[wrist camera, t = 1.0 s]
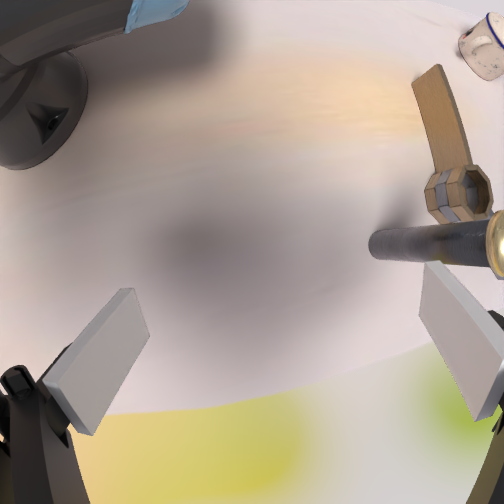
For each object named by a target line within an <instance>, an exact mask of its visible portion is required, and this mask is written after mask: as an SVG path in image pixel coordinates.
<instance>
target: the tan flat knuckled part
mask: <svg viewBox="0 0 504 504" xmlns="http://www.w3.org/2000/svg"><path fill="white" fill-rule="evenodd" d="M412 87H413V90H414V93H415V96H416V99H417V102H418V105H419V108H420V112H421V115H422V118H423V122H424V125H425V129H426V132H427V136H428V140H429V143H430V147H431V151H432V155H433V160H434V164H435V169H436V173H437V174H435V175H432V176H431V178H430V180H429V182H428V184H427V186H426V188H425V196H426V202H427V207H428V212H429V213H430V214H431V215H432V216H433V217H434V218H435V219H436V220H437V221H438V222H439V223H440V224H448V223H455V222H449V221H448V220H447V218H446V217H445V216H444V215H443V213H442V212H441V211H440V210H439V208H438V207H437V199H436V190H435V184H436V183H437V181H438V179H439V178H440V176H441V174H442V173H443V171H446V170H449V169H452V168H453V169H452V171H451V174H450V176H449V178H448V180H447V182H446V190H447V196H448V201H449V207H450V209H451V210H452V211H453V212H454V213H455V214H456V215H457V216H458V217H459V219H460V220H461V221H462V222H468V221H476V220H482V219H487V218H488V216H489V213H490V210H491V208H492V205H493V201H494V200H493V194H492V189H491V184H490V180H489V178H488V177H487V176H486V174H485V173H484V172H483V171H482V169H481V168H480V167H479V166H478V165H473V162H472V158H471V154H470V150H469V146H468V142H467V138H466V134H465V131H464V127H463V124H462V121H461V118H460V114H459V111H458V108H457V105H456V102H455V99H454V96H453V93H452V91H451V88H450V85H449V83H448V80H447V77H446V75H445V72H444V70H443V67H442V65H440V64H436V65H434V66H433V67H432V68H431V69H429V70H428V71H427V72H426V73H424V74H423V75H422V76H421V77H420V78H418V79H417V80H416V81H415V82H413V83H412ZM465 173H467V174H468V176H469V177H470V178H471V179H472V180H473V182H474V183H475V184H476V186H477V192H478V197H479V203H478V206H477V208H476V211H475V213H473V212H472V211H471V210H470V209H469V207H468V201H467V193H466V188H465V187H464V186H463V184H462V180H463V178H464V175H465ZM488 212H489V213H488Z"/></svg>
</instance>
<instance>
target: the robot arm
mask: <svg viewBox="0 0 504 504" xmlns="http://www.w3.org/2000/svg"><path fill="white" fill-rule="evenodd" d="M188 3H189V0H0V166H2V167H5V168H7V169H11V170H23V169H27V168H30V167H33V166H35V165H37V164H39V163H41V162H42V161H44V160H45V159H47V158H48V157H49V156H51V155H52V154H53V153H54V152H55V151H56V150H57V149H58V148H59V147H60V146H61V145H62V144H63V143H64V142H65V140H66V139H67V138H68V136H69V135H70V134H71V132H72V131H73V129H74V127H75V126H76V124H77V122H78V120H79V118H80V116H81V114H82V111H83V108H84V105H85V102H86V97H87V89H88V84H87V77H86V73H85V71H84V69H83V67H82V66H81V64H80V63H79V61H78V60H77V59H76V57H75V56H74V55H73V54H72V53H70V52H69V51H68V50H71V49H73V48H76V47H79V46H82V45H85V44H87V43H90V42H93V41H97V40H100V39H103V38H106V37H110V36H113V35H116V34H120V33H124V34H128V33H130V32H131V31H132V30H133V29H136V28H139V27H143V26H146V25H150V24H154V23H157V22H161V21H165V20H169V19H172V18H174V17H176V16H177V15H179V14H180V13H181V12H182V11H183V10H184V9H185V8H186V6H187V5H188ZM419 317H420V319H421V320H422V322H423V324H424V325H425V327H426V329H427V331H428V332H429V334H430V336H431V338H432V339H433V341H434V343H435V344H436V346H437V348H438V350H439V352H440V354H441V355H442V357H443V359H444V361H445V363H446V365H447V367H448V368H449V370H450V372H451V374H452V376H453V378H454V380H455V382H456V384H457V386H458V388H459V390H460V392H461V394H462V396H463V398H464V400H465V402H466V404H467V406H468V409H469V410H470V413H471V415H472V417H473V419H474V422H476V421H479V420H481V419H484V418H487V417H490V416H492V415H493V413H494V411H495V410H496V408H497V406H498V404H499V405H500V407H501V408H502V411H503V412H502V414H501V416H500V417H499V419H498V421H497V422H496V424H495V426H494V428H493V429H492V432H494V431H495V433H494V436H493V440H492V442H491V445H490V448H489V451H488V453H487V456H486V459H485V461H484V464H483V466H482V469H481V471H480V474H479V476H478V478H477V481H476V483H475V485H474V488H473V490H472V492H471V494H470V496H469V498H468V500H467V502H466V504H504V317H503V316H501V315H500V314H498V313H496V312H495V311H493V310H491V311H486V310H485V308H484V307H483V306H482V305H481V304H480V303H479V302H478V301H477V299H476V298H475V297H474V296H473V295H472V294H471V293H470V292H469V291H468V290H467V288H466V287H465V286H464V285H463V284H462V283H461V282H460V281H459V280H458V279H457V278H456V277H455V276H454V275H453V274H452V273H451V272H450V270H449V269H448V268H447V267H446V266H445V265H444V264H443V263H442V262H441V261H440V260H438V261H430V262H425V264H424V276H423V286H422V294H421V303H420V310H419ZM149 337H150V334H149V332H148V329H147V326H146V323H145V320H144V317H143V315H142V312H141V309H140V306H139V303H138V300H137V297H136V294H135V290H134V288H125V289H120V290H119V291H118V292H117V293H116V294H115V295H114V296H113V297H112V298H111V300H110V301H109V302H108V303H107V304H106V305H105V306H104V307H103V308H102V310H101V311H100V312H99V313H98V314H97V315H96V316H95V317H94V319H93V320H92V321H91V322H90V323H89V324H88V325H87V327H86V328H85V329H84V330H83V331H82V332H81V333H80V335H79V336H78V337H77V338H76V339H75V340H74V342H72V343H71V344H70V345H68V346H67V347H65V348H64V349H63V351H62V352H61V353H60V354H59V355H58V357H57V358H56V359H55V360H54V361H53V364H51V365H50V366H49V367H48V369H47V370H46V371H45V372H44V373H43V375H42V376H41V377H40V378H39V380H38V381H37V382H36V383H35V381H34V379H33V378H32V376H31V374H30V373H29V371H28V369H27V368H26V367H25V366H24V365H17V366H13V367H11V368H9V369H8V370H7V371H5V372H4V373H3V375H2V376H1V378H0V383H1V384H2V386H3V387H4V389H5V390H6V392H7V393H8V395H4V394H3V393H2V391H1V390H0V434H1V435H2V436H3V437H4V440H3V442H1V441H0V504H90V501H89V498H88V495H87V493H86V489H85V486H84V483H83V480H82V476H81V473H80V469H79V466H78V462H77V458H76V455H75V451H74V446H73V442H72V438H71V434H70V432H69V430H68V429H67V427H68V425H69V424H70V423H71V424H72V425H73V427H74V428H75V429H76V431H77V432H78V433H82V434H86V435H90V436H93V435H94V433H95V431H96V429H97V427H98V426H99V424H100V422H101V420H102V418H103V417H104V415H105V413H106V411H107V409H108V408H109V406H110V404H111V402H112V401H113V399H114V397H115V395H116V393H117V392H118V390H119V388H120V386H121V385H122V383H123V381H124V379H125V378H126V376H127V374H128V373H129V371H130V369H131V367H132V366H133V364H134V362H135V361H136V359H137V357H138V355H139V354H140V352H141V350H142V349H143V347H144V345H145V344H146V342H147V340H148V339H149ZM495 429H496V430H495Z"/></svg>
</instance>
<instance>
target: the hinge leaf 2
mask: <svg viewBox="0 0 504 504" xmlns="http://www.w3.org/2000/svg"><path fill="white" fill-rule="evenodd" d="M452 169H453V168H452ZM452 169H449V170H446V171H443V173H442V174H441V176H440V178H439V179H438V181H437V183H436V184H435V190H436V199H437V207H438V208H439V210H440V211H441V212H442V213H443V215H444V216H445V217H446V218H447V220H448V221H449V222H462V221H461V220H460V219H459V217H458V216H457V215H456V214H455V213H454V212H453V211H452V210H451V209H450V207H449V201H448V196H447V190H446V182H447V180H448V178H449V176H450V174H451V171H452ZM462 184H463V186H464V187H465V188H466V193H467V201H468V207H469V209H470V210H471V211H472V212H473V213H475V211H476V208H477V206H478V203H479V197H478V192H477V186H476V184H475V183H474V182H473V180H472V179H471V178H470V177H469V176H468V174H467V173H465V175H464V178H463V180H462ZM488 213H489V212H488ZM493 214H494V213H493V211H492V210H490V213H489V216H488V218H487V219H482V220H489V219H491V217H492V216H493ZM476 221H479V220H476ZM468 222H469V221H468ZM490 268H491V267H490ZM491 269H492V268H491ZM492 271H493V270H492ZM493 272H494V271H493ZM494 274H495V275H496V277H497V279H498V280H504V277H502V276H499V275H497V274H496V273H495V272H494Z"/></svg>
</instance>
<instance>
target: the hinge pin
mask: <svg viewBox="0 0 504 504" xmlns="http://www.w3.org/2000/svg"><path fill="white" fill-rule="evenodd" d="M369 251H370V253H371V254H372V256H373V257H375V258H376V259H381V260H395V261H409V262H423V263H425V262H430V261H438V260H440V261H441V262H442V263H443V264H451V265H465V266H478V267H491V268H492V270H493V271H494V272H495V273H496V274H497V275H499V276H502V277H504V210H499V211H497V212H495V213H494V214H493V216H492V217H491V219H489V220H479V221H469V222H459V223H449V224H440V225H430V226H420V227H411V228H401V229H391V230H382V231H377V232H375V233H373V234H372V236H371V237H370V239H369Z"/></svg>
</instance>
